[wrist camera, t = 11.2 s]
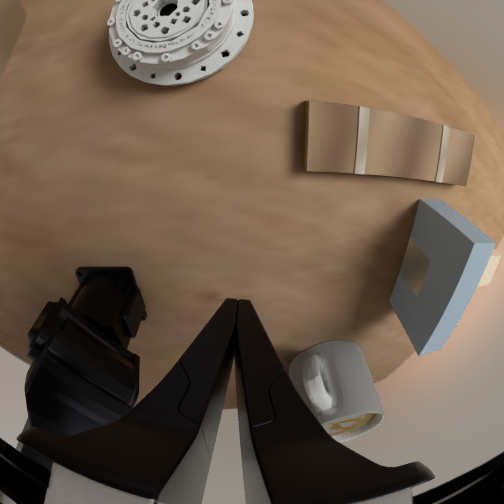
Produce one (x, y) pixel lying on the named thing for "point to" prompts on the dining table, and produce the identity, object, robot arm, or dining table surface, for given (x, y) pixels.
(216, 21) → the mechanical component
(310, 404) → the coffee mug
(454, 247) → the light blue upright panel
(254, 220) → the dining table surface
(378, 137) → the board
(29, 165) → the dining table surface
